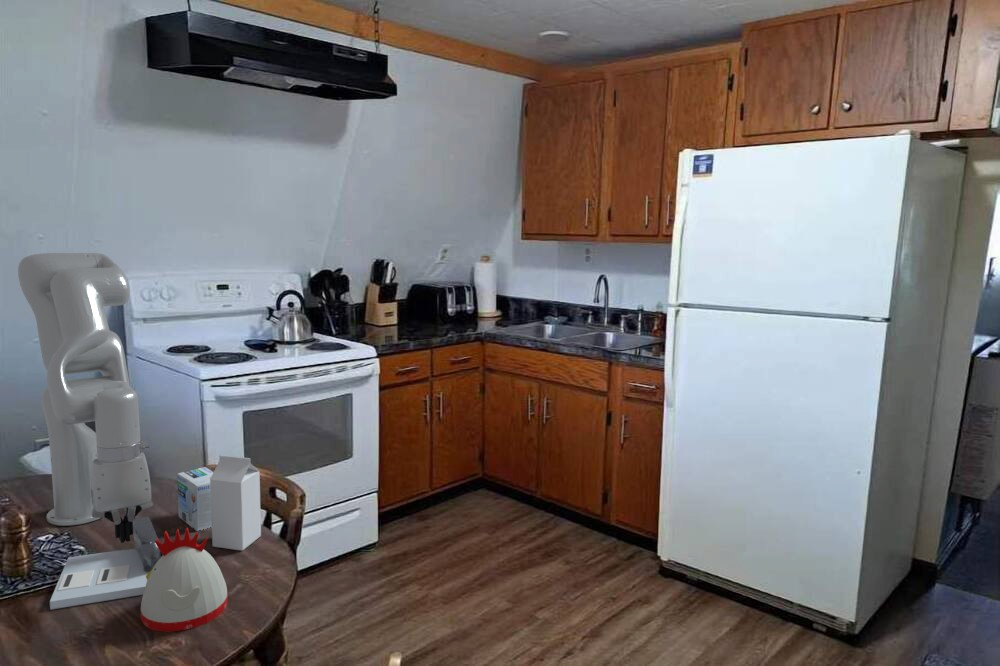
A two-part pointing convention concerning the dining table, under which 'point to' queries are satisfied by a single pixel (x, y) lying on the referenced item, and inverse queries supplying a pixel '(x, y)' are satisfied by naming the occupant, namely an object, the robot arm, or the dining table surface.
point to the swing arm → (146, 542)
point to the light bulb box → (195, 498)
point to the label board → (99, 578)
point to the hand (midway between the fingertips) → (124, 539)
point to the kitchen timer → (183, 586)
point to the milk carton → (235, 503)
